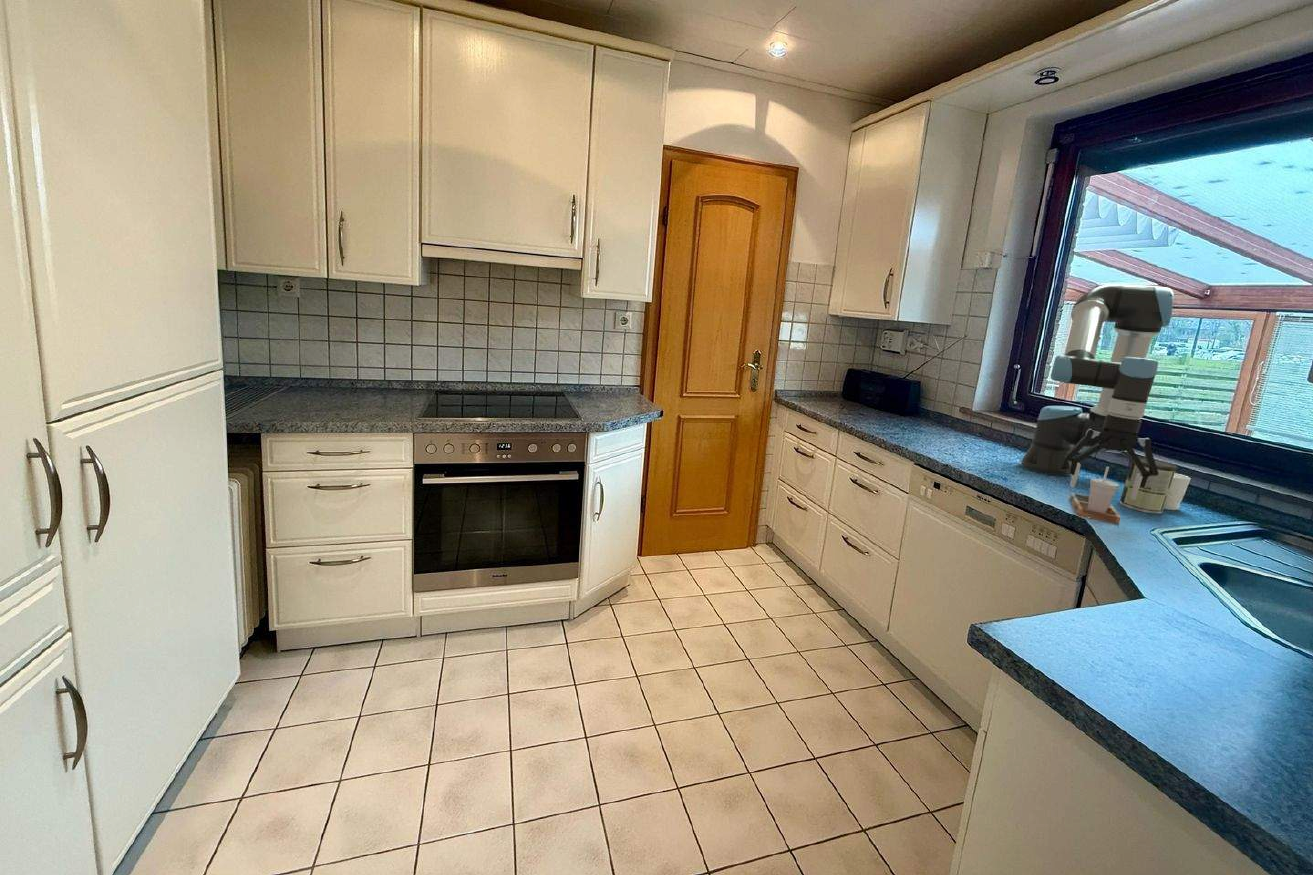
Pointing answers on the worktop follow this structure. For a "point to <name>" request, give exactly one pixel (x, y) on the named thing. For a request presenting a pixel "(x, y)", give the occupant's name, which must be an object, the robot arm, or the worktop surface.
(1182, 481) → the white cup
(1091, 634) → the worktop surface
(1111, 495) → the smoothie
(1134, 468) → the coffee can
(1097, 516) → the dock rack
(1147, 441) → the robot arm
